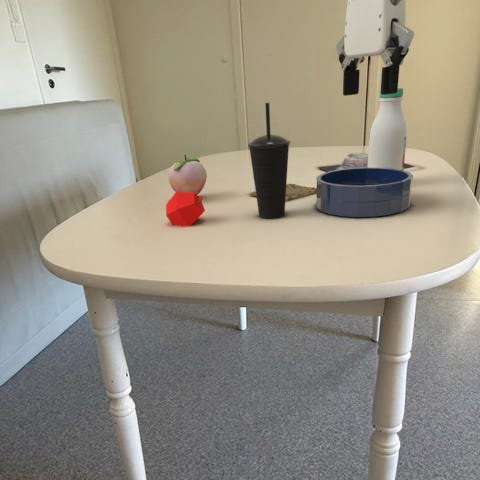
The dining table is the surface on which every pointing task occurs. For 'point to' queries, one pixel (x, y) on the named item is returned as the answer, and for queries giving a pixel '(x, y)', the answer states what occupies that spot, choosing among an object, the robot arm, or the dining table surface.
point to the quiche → (354, 163)
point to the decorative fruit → (187, 176)
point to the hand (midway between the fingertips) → (368, 94)
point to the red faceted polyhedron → (184, 208)
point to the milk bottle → (388, 134)
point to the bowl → (364, 191)
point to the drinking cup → (270, 171)
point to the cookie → (296, 192)
